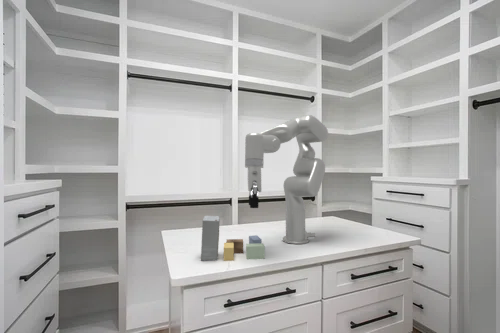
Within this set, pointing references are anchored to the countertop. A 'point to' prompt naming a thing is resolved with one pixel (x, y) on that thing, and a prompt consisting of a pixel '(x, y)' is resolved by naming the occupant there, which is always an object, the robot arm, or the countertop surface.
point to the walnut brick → (236, 245)
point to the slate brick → (254, 239)
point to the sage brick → (255, 251)
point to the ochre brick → (228, 251)
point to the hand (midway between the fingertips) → (253, 206)
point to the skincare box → (210, 238)
